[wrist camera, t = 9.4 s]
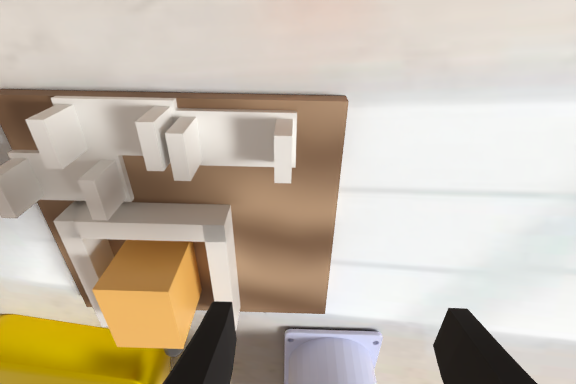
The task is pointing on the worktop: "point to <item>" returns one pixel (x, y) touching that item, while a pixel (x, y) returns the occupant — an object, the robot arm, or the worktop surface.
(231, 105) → the board
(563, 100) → the worktop surface
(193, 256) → the block
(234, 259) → the frame
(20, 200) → the clip
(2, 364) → the element tile
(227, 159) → the clip
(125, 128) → the clip
